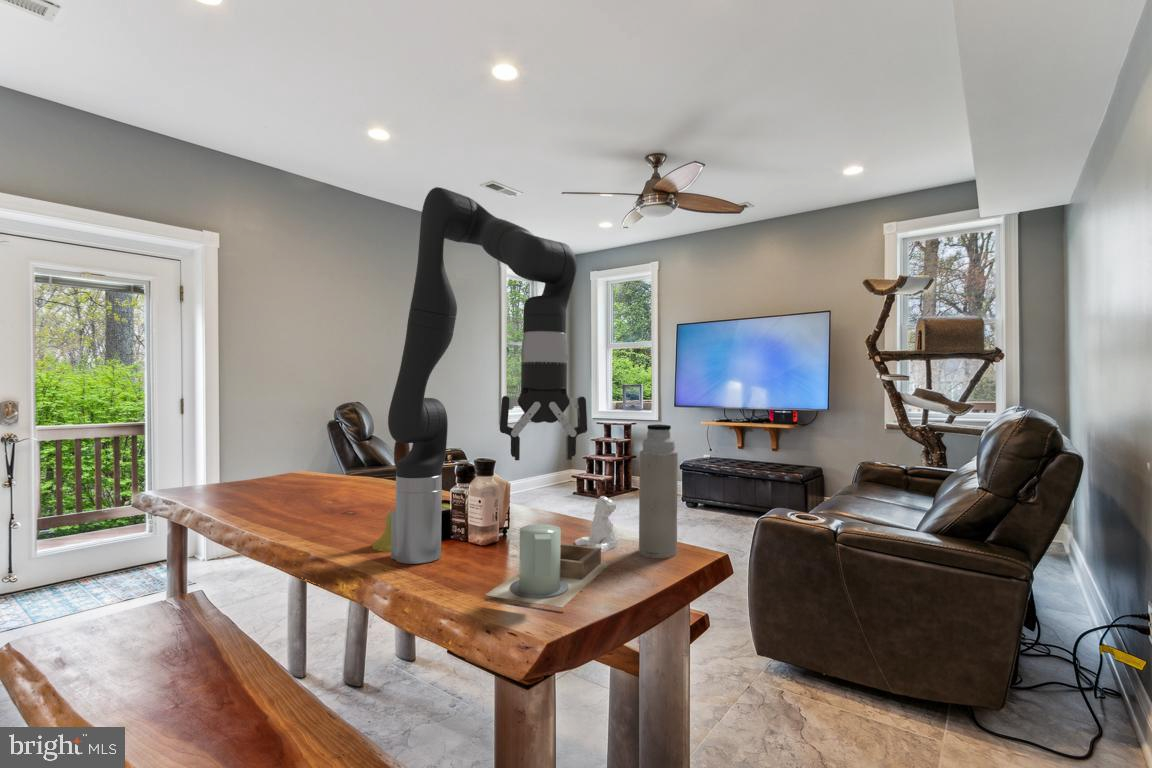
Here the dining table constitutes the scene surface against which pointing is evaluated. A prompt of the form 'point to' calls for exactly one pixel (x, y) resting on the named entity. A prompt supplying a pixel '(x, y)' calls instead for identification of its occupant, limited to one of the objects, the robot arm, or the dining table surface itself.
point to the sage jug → (539, 559)
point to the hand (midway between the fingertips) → (543, 459)
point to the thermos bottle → (658, 494)
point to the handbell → (385, 539)
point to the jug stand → (574, 576)
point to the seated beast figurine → (601, 527)
